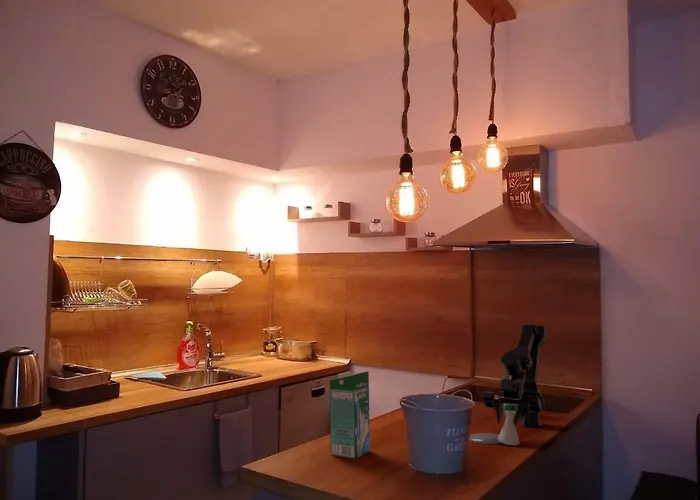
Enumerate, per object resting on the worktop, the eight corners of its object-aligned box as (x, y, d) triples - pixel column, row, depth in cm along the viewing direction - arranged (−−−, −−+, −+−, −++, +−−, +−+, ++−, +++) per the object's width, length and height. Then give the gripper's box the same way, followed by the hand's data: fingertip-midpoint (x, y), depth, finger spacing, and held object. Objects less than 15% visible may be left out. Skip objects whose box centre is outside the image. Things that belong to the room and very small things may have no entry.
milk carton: (345, 447, 177) (344, 368, 179) (370, 451, 172) (368, 370, 174) (330, 454, 169) (329, 372, 171) (355, 459, 164) (354, 374, 166)
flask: (494, 442, 178) (496, 411, 177) (500, 436, 184) (502, 406, 184) (517, 447, 174) (519, 416, 174) (522, 441, 180) (524, 411, 180)
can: (501, 413, 222) (500, 376, 223) (515, 413, 223) (514, 375, 225) (508, 417, 216) (507, 378, 218) (523, 416, 217) (521, 377, 219)
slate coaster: (466, 434, 190) (466, 433, 190) (501, 434, 190) (501, 433, 190) (472, 444, 178) (471, 442, 178) (509, 444, 178) (509, 442, 178)
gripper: (482, 367, 189) (472, 406, 179) (538, 371, 179) (531, 412, 169) (490, 387, 195) (481, 425, 185) (544, 391, 185) (538, 432, 175)
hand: (506, 423), depth 178 cm, fingers open, 5 cm apart
